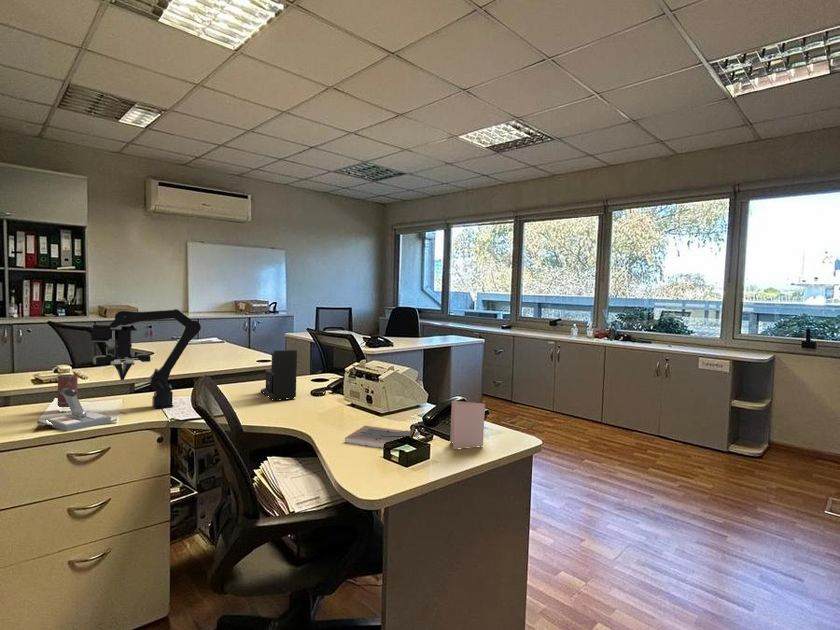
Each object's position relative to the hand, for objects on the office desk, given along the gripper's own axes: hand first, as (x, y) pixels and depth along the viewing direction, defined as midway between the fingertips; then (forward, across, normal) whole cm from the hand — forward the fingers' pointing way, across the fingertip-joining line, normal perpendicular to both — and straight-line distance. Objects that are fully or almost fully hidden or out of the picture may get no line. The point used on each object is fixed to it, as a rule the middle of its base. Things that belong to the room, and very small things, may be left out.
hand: (122, 380), depth 183 cm
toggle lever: (+9, +16, +13) cm, 22 cm away
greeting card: (+12, -73, +118) cm, 140 cm away
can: (+12, +16, -10) cm, 23 cm away
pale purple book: (+12, -57, +95) cm, 111 cm away
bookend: (+12, -62, +11) cm, 65 cm away
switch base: (+12, +16, +13) cm, 24 cm away
